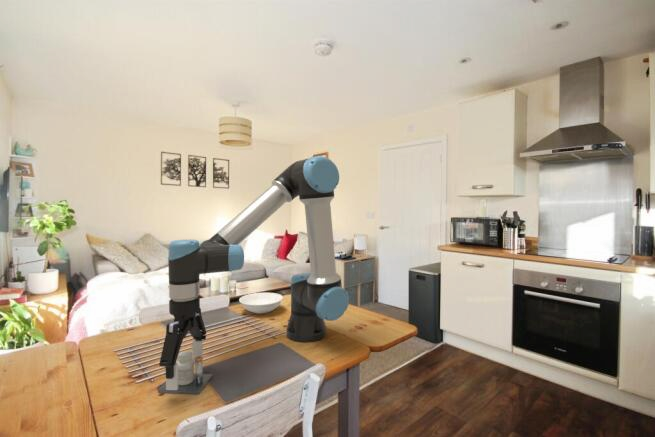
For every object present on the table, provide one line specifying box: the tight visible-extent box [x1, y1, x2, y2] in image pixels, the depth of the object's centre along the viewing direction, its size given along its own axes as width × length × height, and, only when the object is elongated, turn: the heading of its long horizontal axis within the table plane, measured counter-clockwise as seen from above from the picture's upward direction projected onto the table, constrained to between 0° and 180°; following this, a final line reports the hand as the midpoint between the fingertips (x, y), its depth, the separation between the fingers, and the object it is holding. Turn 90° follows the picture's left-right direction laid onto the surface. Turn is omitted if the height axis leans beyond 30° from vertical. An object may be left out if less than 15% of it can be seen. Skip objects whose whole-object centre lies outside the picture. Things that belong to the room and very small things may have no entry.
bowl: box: [238, 292, 284, 315], centre depth 148 cm, size 20×20×6 cm
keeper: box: [157, 356, 213, 395], centre depth 88 cm, size 11×8×8 cm
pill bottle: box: [176, 350, 195, 385], centre depth 88 cm, size 4×4×8 cm
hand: (185, 375), depth 88 cm, fingers open, 13 cm apart
